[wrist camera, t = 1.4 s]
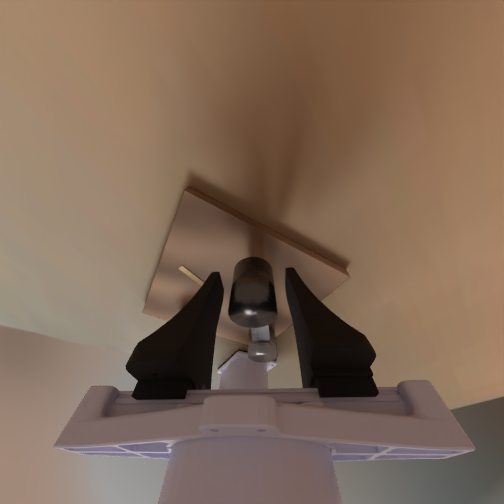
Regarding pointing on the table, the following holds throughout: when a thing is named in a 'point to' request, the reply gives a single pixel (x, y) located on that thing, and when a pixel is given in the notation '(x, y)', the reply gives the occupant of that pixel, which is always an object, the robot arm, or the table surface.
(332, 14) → the table surface
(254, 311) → the lever
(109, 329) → the table surface
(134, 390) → the robot arm
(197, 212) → the board
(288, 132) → the table surface
